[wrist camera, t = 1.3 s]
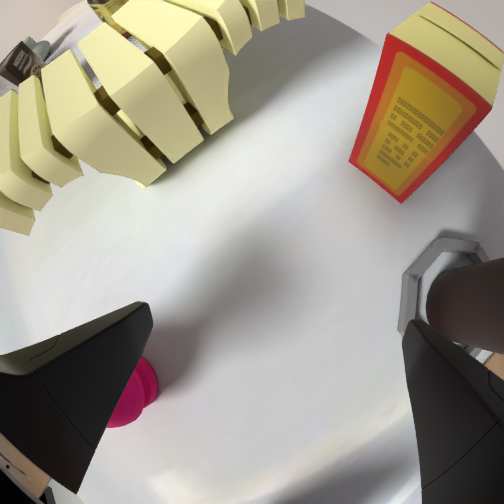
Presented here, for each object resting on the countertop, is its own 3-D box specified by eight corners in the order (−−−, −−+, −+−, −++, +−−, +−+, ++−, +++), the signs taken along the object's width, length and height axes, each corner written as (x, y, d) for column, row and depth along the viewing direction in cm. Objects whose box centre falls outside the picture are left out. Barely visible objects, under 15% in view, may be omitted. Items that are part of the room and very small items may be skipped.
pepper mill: (137, 334, 25) (-48, 361, 6) (176, 395, 24) (18, 496, 4) (98, 363, 25) (-55, 395, 6) (132, 418, 24) (-5, 492, 4)
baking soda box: (401, 203, 23) (494, 105, 7) (348, 161, 24) (387, 29, 9) (437, 144, 23) (506, 50, 7) (391, 109, 24) (432, -2, 9)
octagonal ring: (483, 360, 19) (491, 362, 17) (391, 367, 21) (396, 371, 19) (492, 247, 20) (500, 245, 19) (403, 236, 22) (409, 233, 21)
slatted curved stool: (97, 253, 27) (-39, 215, 10) (63, 167, 31) (-25, 114, 13) (306, 88, 26) (300, -51, 9) (228, 37, 30) (194, -60, 12)
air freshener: (56, 43, 42) (39, 25, 33) (51, 57, 41) (31, 37, 31) (31, 65, 44) (13, 49, 34) (25, 80, 42) (5, 64, 32)
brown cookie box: (63, 116, 33) (3, 69, 17) (40, 134, 34) (-18, 95, 18) (70, 84, 35) (22, 38, 19) (48, 101, 36) (-1, 62, 20)
